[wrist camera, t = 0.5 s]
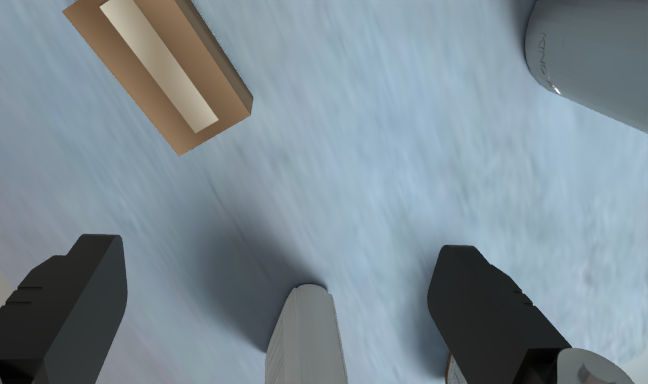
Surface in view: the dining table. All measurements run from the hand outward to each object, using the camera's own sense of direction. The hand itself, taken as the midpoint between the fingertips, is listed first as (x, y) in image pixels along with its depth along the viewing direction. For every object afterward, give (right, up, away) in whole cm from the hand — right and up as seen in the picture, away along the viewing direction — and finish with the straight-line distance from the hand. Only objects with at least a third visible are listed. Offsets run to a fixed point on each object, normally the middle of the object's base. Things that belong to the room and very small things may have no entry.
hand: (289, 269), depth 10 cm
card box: (-8, +10, +15) cm, 20 cm away
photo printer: (-2, -10, +27) cm, 29 cm away
